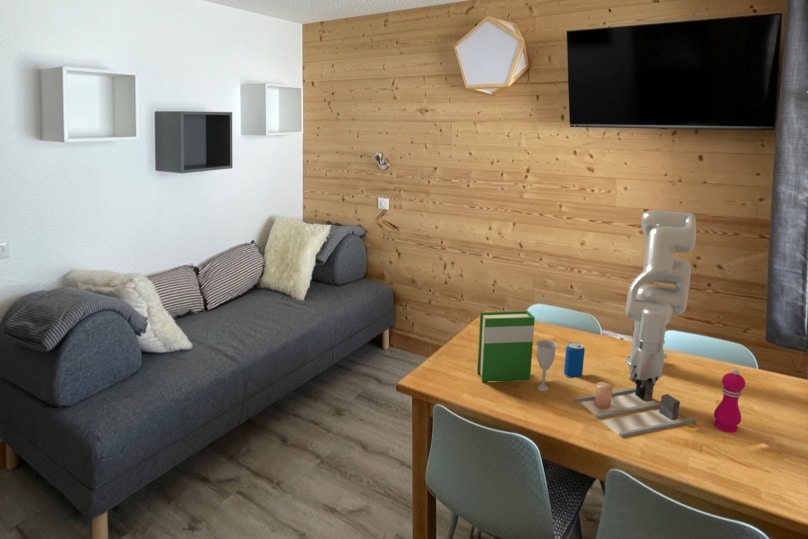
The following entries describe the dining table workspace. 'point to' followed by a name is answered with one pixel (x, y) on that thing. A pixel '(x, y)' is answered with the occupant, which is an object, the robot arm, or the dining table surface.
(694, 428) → the dining table surface
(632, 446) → the dining table surface
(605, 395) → the light brown rounded piece
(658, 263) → the robot arm
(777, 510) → the dining table surface
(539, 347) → the chalice
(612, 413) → the track board
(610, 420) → the strip
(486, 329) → the hardback book
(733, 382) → the pepper mill
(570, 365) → the beverage can
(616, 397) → the strip
